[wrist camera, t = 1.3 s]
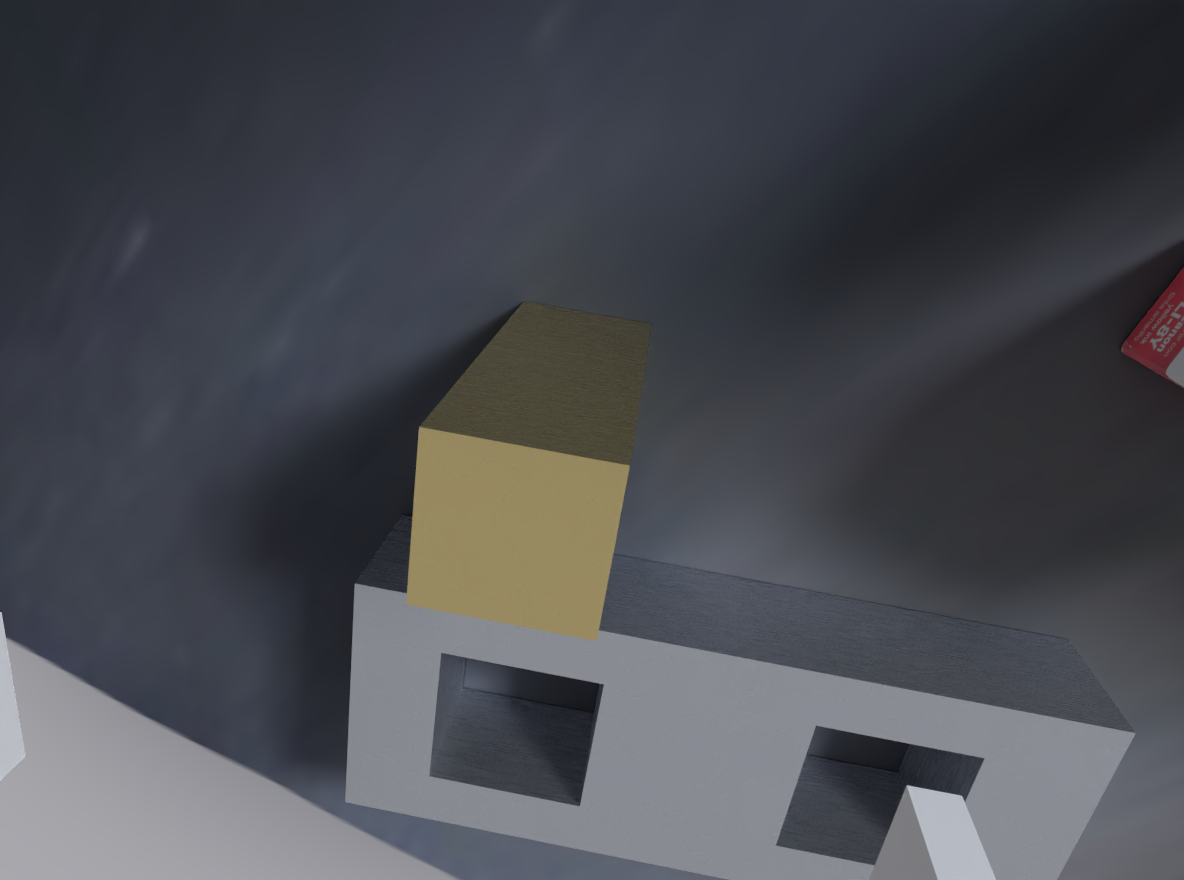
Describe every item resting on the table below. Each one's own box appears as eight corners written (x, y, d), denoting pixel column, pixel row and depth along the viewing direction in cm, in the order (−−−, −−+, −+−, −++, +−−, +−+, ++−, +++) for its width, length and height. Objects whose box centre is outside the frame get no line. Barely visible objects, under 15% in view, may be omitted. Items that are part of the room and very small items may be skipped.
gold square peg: (523, 301, 28) (419, 426, 17) (651, 323, 28) (629, 465, 17) (509, 420, 30) (405, 604, 19) (629, 442, 30) (596, 640, 19)
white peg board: (402, 514, 32) (354, 583, 27) (1068, 639, 31) (1135, 733, 26) (388, 712, 36) (345, 801, 31) (979, 829, 35) (1024, 939, 30)
